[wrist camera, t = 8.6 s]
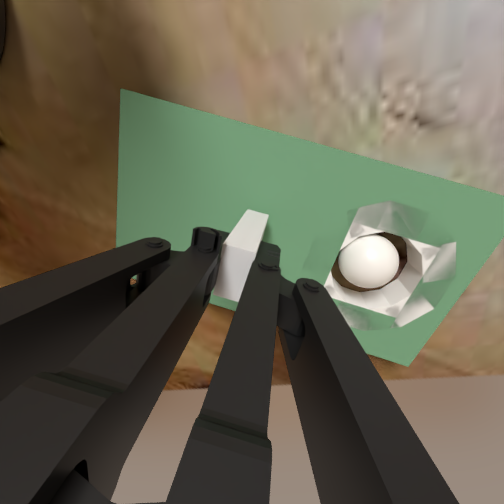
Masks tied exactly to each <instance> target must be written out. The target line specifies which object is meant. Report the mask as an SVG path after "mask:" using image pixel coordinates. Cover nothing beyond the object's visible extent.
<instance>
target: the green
mask: <svg viewBox="0 0 504 504" xmlns="http://www.w3.org/2000/svg"><path fill="white" fill-rule="evenodd" d="M247 209H249V210H253V211H256V212H260V213H264V214H268V215H269V217H268V220H267V224H266V228H265V231H264V235H263V239H262V241H264V242H267V243H271V244H275V245H278V246H279V248H280V249H281V254H280V264H279V267H280V268H281V275H282V276H283V277H284V278H286V279H287V280H289V281H291V282H293V283H295V282H296V281H297V279H299V278H308V279H313V280H316V281H318V282H319V283H320V284H322V285H323V286H324V287H325V288H326V290H327V291H328V293H329V294H330V296H331V298H332V299H333V301H334V302H335V304H336V306H337V307H338V309H339V311H340V312H341V314H342V315H343V317H344V319H345V320H346V322H347V323H348V325H349V327H350V328H351V330H352V331H353V333H354V335H355V336H356V338H357V340H358V341H359V343H360V344H361V346H362V348H363V349H364V351H365V352H366V353H367V354H370V355H373V356H376V357H380V358H383V359H386V360H389V361H392V362H395V363H398V364H401V365H405V366H409V365H410V364H411V362H412V361H413V360H414V358H415V357H416V355H417V354H418V353H419V351H420V350H421V349H422V347H423V346H424V345H425V343H426V342H427V341H428V339H429V338H430V336H431V335H432V334H433V332H434V331H435V330H436V328H437V327H438V326H439V324H440V323H441V322H442V320H443V319H444V317H445V316H446V315H447V313H448V312H449V311H450V309H451V308H452V307H453V305H454V304H455V303H456V301H457V300H458V298H459V297H460V296H461V294H462V293H463V292H464V290H465V289H466V288H467V286H468V285H469V283H470V282H471V281H472V279H473V278H474V277H475V275H476V274H477V273H478V271H479V270H480V269H481V267H482V266H483V264H484V263H485V262H486V260H487V259H488V258H489V256H490V255H491V254H492V252H493V251H494V250H495V248H496V247H497V245H498V244H499V243H500V241H501V240H502V239H503V237H504V196H502V195H499V194H495V193H492V192H488V191H485V190H481V189H478V188H474V187H470V186H467V185H463V184H460V183H456V182H453V181H449V180H446V179H442V178H438V177H435V176H431V175H428V174H424V173H421V172H417V171H414V170H410V169H406V168H403V167H399V166H396V165H392V164H389V163H385V162H381V161H378V160H374V159H371V158H367V157H364V156H360V155H357V154H353V153H349V152H346V151H342V150H339V149H335V148H332V147H328V146H325V145H321V144H317V143H314V142H310V141H307V140H303V139H300V138H296V137H292V136H289V135H285V134H282V133H278V132H275V131H271V130H268V129H264V128H260V127H257V126H253V125H250V124H246V123H243V122H239V121H236V120H232V119H228V118H225V117H221V116H218V115H214V114H211V113H207V112H204V111H200V110H196V109H193V108H189V107H186V106H182V105H179V104H175V103H171V102H168V101H164V100H161V99H157V98H154V97H150V96H147V95H143V94H139V93H136V92H132V91H129V90H125V89H122V88H120V123H119V157H118V192H117V227H116V248H117V247H120V246H123V245H126V244H129V243H131V242H134V241H137V240H140V239H143V238H148V237H159V238H162V239H165V240H167V241H169V242H170V244H171V250H174V251H186V250H187V249H188V248H189V247H190V246H191V240H192V232H193V228H195V227H210V228H214V229H216V230H221V231H225V232H228V233H231V232H232V230H233V229H234V228H235V226H236V225H237V223H238V222H239V221H240V219H241V218H242V216H243V215H244V214H245V212H246V211H247ZM379 232H387V233H391V234H394V235H398V236H401V237H402V238H403V240H404V241H405V242H406V246H407V263H406V265H405V266H404V268H403V270H402V272H401V273H400V275H399V277H398V278H397V279H396V280H394V281H393V282H391V283H389V284H388V285H386V286H385V287H383V288H381V289H379V290H372V291H365V292H358V291H354V290H351V289H348V288H345V287H342V286H341V285H340V284H339V283H338V282H337V281H336V280H335V279H334V278H333V277H332V274H331V269H332V266H333V264H334V262H335V260H336V258H337V255H338V253H339V251H340V250H341V249H343V248H344V247H345V246H347V245H348V244H349V243H351V242H352V241H353V240H355V239H356V238H357V237H359V236H364V235H369V234H374V233H379ZM132 278H133V279H136V275H135V276H133V277H132ZM213 291H214V288H213V290H212V292H211V297H210V301H209V303H211V304H214V305H217V306H220V307H224V308H227V309H230V310H233V311H236V308H237V305H238V302H236V301H233V300H229V299H226V298H222V297H219V296H215V295H213Z"/></svg>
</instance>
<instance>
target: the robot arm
mask: <svg viewBox="0 0 504 504" xmlns="http://www.w3.org/2000/svg"><path fill="white" fill-rule="evenodd" d="M4 38H5V5H4V0H0V58H1V55H2V50H3V45H4ZM268 217H269V215H268V214H264V213H260V212H256V211H253V210H249V209H247V211H246V212H245V214H244V215H243V216H242V218H241V219H240V221H239V222H238V223H237V225H236V226H235V228H234V229H233V230H232V232H231V233H228V232H225V231H221V230H216V229H214V228H210V227H195V228H193V232H192V240H191V246H190V247H189V248H188V249H187V250H186V251H174V250H171V244H170V242H169V241H167V240H165V239H162V238H159V237H148V238H143V239H140V240H137V241H134V242H131V243H129V244H126V245H123V246H120V247H117V248H114V249H111V250H108V251H106V252H103V253H100V254H97V255H94V256H91V257H88V258H86V259H83V260H80V261H77V262H74V263H71V264H68V265H66V266H63V267H60V268H57V269H54V270H51V271H48V272H45V273H43V274H40V275H37V276H34V277H31V278H28V279H25V280H23V281H20V282H17V283H14V284H11V285H8V286H5V287H3V288H0V504H115V503H113V502H111V501H110V500H111V498H112V495H113V493H114V490H115V488H116V485H117V482H118V479H119V476H120V473H121V470H122V468H123V465H124V463H125V461H126V459H127V457H128V455H129V453H130V451H131V449H132V447H133V445H134V443H135V441H136V440H137V438H138V436H139V434H140V432H141V430H142V428H143V426H144V424H145V422H146V421H147V419H148V417H149V415H150V413H151V411H152V409H153V407H154V405H155V403H156V402H157V400H158V398H159V396H160V394H161V392H162V390H163V388H164V387H165V385H166V383H167V381H168V379H169V377H170V375H171V373H172V371H173V370H174V368H175V366H176V364H177V362H178V360H179V358H180V356H181V354H182V352H183V351H184V349H185V347H186V345H187V343H188V341H189V339H190V337H191V335H192V334H193V332H194V330H195V328H196V326H197V324H198V322H199V320H200V318H201V317H202V315H203V313H204V311H205V309H206V307H207V305H208V303H209V301H210V297H211V292H212V290H213V288H214V291H213V295H215V296H219V297H222V298H226V299H229V300H233V301H236V302H238V305H237V308H236V311H235V313H234V316H233V319H232V322H231V325H230V328H229V331H228V334H227V336H226V339H225V342H224V345H223V348H222V351H221V354H220V357H219V359H218V362H217V365H216V368H215V371H214V374H213V377H212V380H211V382H210V385H209V388H208V391H207V394H206V397H205V400H204V403H203V406H202V409H201V411H200V414H199V416H198V417H197V418H196V420H195V423H194V425H193V427H192V430H191V433H190V436H189V438H188V441H187V444H186V447H185V449H184V452H183V455H182V458H181V461H180V463H179V466H178V469H177V472H176V475H175V477H174V480H173V483H172V486H171V489H170V492H169V494H168V497H167V500H166V502H160V503H138V504H269V496H270V481H271V465H272V446H271V441H270V440H269V439H268V437H267V427H268V415H269V403H270V391H271V381H272V369H273V358H274V346H275V335H276V325H277V326H278V327H279V336H280V340H281V344H282V348H283V352H284V356H285V361H286V365H287V369H288V373H289V377H290V381H291V385H292V389H293V393H294V397H295V401H296V405H297V409H298V413H299V417H300V421H301V426H302V430H303V434H304V438H305V442H306V446H307V450H308V454H309V458H310V462H311V466H312V470H313V474H314V478H315V482H316V486H317V490H318V494H319V499H320V503H321V504H459V503H458V501H457V499H456V498H455V496H454V494H453V493H452V491H451V490H450V488H449V486H448V485H447V483H446V482H445V480H444V478H443V477H442V475H441V474H440V472H439V470H438V469H437V467H436V466H435V464H434V462H433V461H432V459H431V457H430V456H429V454H428V452H427V451H426V449H425V448H424V446H423V444H422V443H421V441H420V440H419V438H418V436H417V435H416V433H415V432H414V430H413V428H412V427H411V425H410V424H409V422H408V420H407V419H406V417H405V416H404V414H403V412H402V411H401V409H400V407H399V406H398V404H397V402H396V401H395V399H394V398H393V396H392V394H391V393H390V391H389V390H388V388H387V386H386V385H385V383H384V382H383V380H382V378H381V377H380V375H379V373H378V372H377V370H376V369H375V367H374V365H373V364H372V362H371V361H370V359H369V357H368V356H367V354H366V352H365V351H364V349H363V348H362V346H361V344H360V343H359V341H358V340H357V338H356V336H355V335H354V333H353V331H352V330H351V328H350V327H349V325H348V323H347V322H346V320H345V319H344V317H343V315H342V314H341V312H340V311H339V309H338V307H337V306H336V304H335V302H334V301H333V299H332V298H331V296H330V294H329V293H328V291H327V290H326V288H325V287H324V286H323V285H322V284H320V283H319V282H318V281H316V280H313V279H308V278H299V279H297V281H296V282H295V283H293V282H291V281H289V280H287V279H286V278H284V277H283V276H282V275H281V268H280V267H279V264H280V254H281V249H280V248H279V246H278V245H275V244H271V243H267V242H264V241H262V239H263V235H264V231H265V228H266V224H267V220H268ZM135 275H136V283H135V284H133V285H131V284H130V279H131V278H132V277H133V276H135Z"/></svg>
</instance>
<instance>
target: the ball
mask: <svg viewBox="0 0 504 504" xmlns="http://www.w3.org/2000/svg"><path fill="white" fill-rule="evenodd" d="M338 265H339V269H340V271H341V273H342V275H343V276H344V277H345V278H346V279H347V280H348V281H349V282H350V283H352V284H354V285H356V286H358V287H362V288H376V287H380V286H382V285H384V284H386V283H388V282H389V281H390V280H391V279H392V278H393V277H394V276H395V274H396V272H397V270H398V267H399V255H398V252H397V250H396V248H395V247H394V245H393V244H392V243H391V242H390V241H389V240H388V239H386V238H385V237H383V236H380V235H377V234H369V235H364V236H359V237H357V238H356V239H355V240H353V241H352V242H351V243H349V244H348V245H347V246H345V247H344V248H343V249H341V250H340V252H339V256H338Z"/></svg>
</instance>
